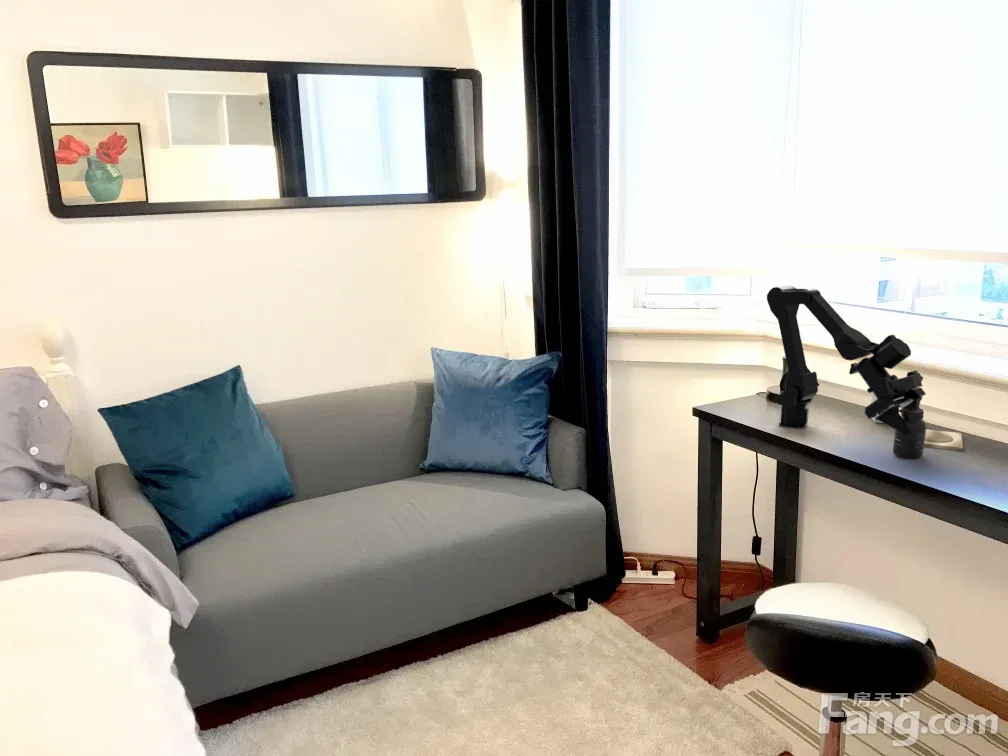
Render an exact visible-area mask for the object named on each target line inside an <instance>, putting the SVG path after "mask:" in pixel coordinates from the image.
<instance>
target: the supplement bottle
mask: <svg viewBox="0 0 1008 756" xmlns="http://www.w3.org/2000/svg"><path fill="white" fill-rule="evenodd" d="M901 409H902V413H900V416H901V418H902V419H903V421H904V423H905V424H906V426H907V428H908V430H909V432H910V433H909V434H908V435H905V434H903V433H901V432H900V431H898V430H896V429H894V436H893V444H892V445H893V446H892V453H893V454H894V456H896V457H897V458H900V459H904V460H919V459H921V458H922V457H923V455H924V451H925V450H924V448H925V447H924V443H925V435H926V429H927V423H926V421H925V420H924V413H925V411H924V409H923V408H920V407H919V408H917V407H903V408H901ZM922 419H923V420H922Z"/></svg>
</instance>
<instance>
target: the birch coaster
mask: <svg viewBox="0 0 1008 756" xmlns="http://www.w3.org/2000/svg"><path fill="white" fill-rule="evenodd" d="M925 447H926V448H935V449H943V450H952V451H960V452H963V451H964V444H963V436H962V433H961V432H954V431H945V430H936V429H927V428H926V435H925V443H924V448H925Z"/></svg>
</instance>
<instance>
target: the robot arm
mask: <svg viewBox="0 0 1008 756" xmlns="http://www.w3.org/2000/svg"><path fill="white" fill-rule="evenodd" d="M766 301H767V304H768V307H769V309H770V312H771V313H772V314H773V315H774V317H775V318H776V319H777V322H778V327H779V332H780V335H781V342H782V345H783V346H782V347H783V350H784V351H783V352H784V356H785V360H786V366H787V373H786V377H785V380H784V381H785V382H784V385H785V386H784V387H785V390H783V391H782V392H781V393H780V394H778V395H777V396H776V400H777V405H781V412H780V422H779V423H778V426H781V427H788V428H793V429H794V428H795V429H804V428H805V426H806V425H807V424H808V423H809V412H810V410H809V408H808V404H809V403H811V402H812V400H813V398H814V397H815V396H816V395H817V393H818V392H819V391H818V390H819V386H820V383H819V382H818V374H817V371H812V372H811V370H810V369H809V368H808V365H807V362H806V361H807V360H806V358H805V353H804V352H805V351H804V347H803V342H802V338H801V333H800V327H799V324H798V318H797V317H798V316H797V314H798V311H799V308H800V305H804V306H805V307H806V308H807V310H809V312H810V313H811V314H812V315H813V317H815V319H816V320H817V321H818V322H819V323H820V324H821V326H823V328H824V329H825V330H826V331H827V332H828V333H829V335H830V336H831V337H832V339H833V343H834V344H833V345H834V347H835V348H836V350H837V352H838V353H839V355H840V356H841V358H842V359H844V360H846V361H854V360H859V359H861V360H860V361H858V362H853V363H851V364H850V368H849V372H848V374H849V375H854V374H859V376H861V377H860V378H862V379H863V381H864V382H865V384H866V385H867V386H868V388H867V389H866V391H867V392H868V394H871V393H872V392H873V393H874V395H875V396H876V398H877V400H876V401H874V402H873V403H870V404H869V405H867V406H865V408H864V415H865V416H866V417H867V418H868V420H872V418H874V417H876V414H877V413H878V415H879V416H878V417H876V418H875V419H876V420H880V421H882V422H883V423H884V424H886V425H887V426H890V427H891V428H893V429H894V430H895V429H896V430H898V431H900V432H901V433H903V434H905V435H908V434H909V433H910V432H909V430H908V428H907V426H906V424H905V423H904V421H903V419H902V418H901V417H902V416H901V413H902V408H903V407H917V408H920V404H921V401H922V400H923V397H924V396H926V394H927V393H926V392H925V390H924V389H923V388H922V387H923V383H922V382H923V380H924V377H923V376H922V375H921V373H919V371H917V370H911V371H909V372H907V373H906V376H904V377H900V378H899V377H898V376H897V375H895V374H890V373H889V372H888V370H887V369H889V370H892V369H894V368H895V367H896V366H898V365H899V364H900V363H902V362H904V360H906V359H907V358H908V357H910V356H911V355H912V351H911V348H910V346H909V345H908V344H907V343H906V342H905V341H903V340H902V339H900V338H897V337H896V335H895V334H889V335H887V336H886V337H885V338H884V339H883V341H881V342H879V343H877V342H874V341H871V340H870V339H869V338H868V337H867V336H866V335H864V334H863V333H862V332H861V331H860V330H857V329H856V328H853V327H851V326H850V325H849V324H848V323H847V322H846V321H845V320H844V319H843V318H842V317H841V316H840V314H839V313H838V312H837V311H836V310H835V309H834V308H833V307H832V306H831V304H830V303H829V302H828V301H827V300H826V298H824V296H822V294H821V292H820V290H818V289H816V288H797V287H795V286H793V285H791V284H790V285H789V284H788V285H781V286H776V287H775V286H774V287H771V288H770V289H769V291H768V293H767V294H766ZM871 355H872V356H871ZM868 356H870V357H868ZM862 358H863V359H862ZM922 420H924V418H923V419H922ZM883 423H882V424H883Z"/></svg>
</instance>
